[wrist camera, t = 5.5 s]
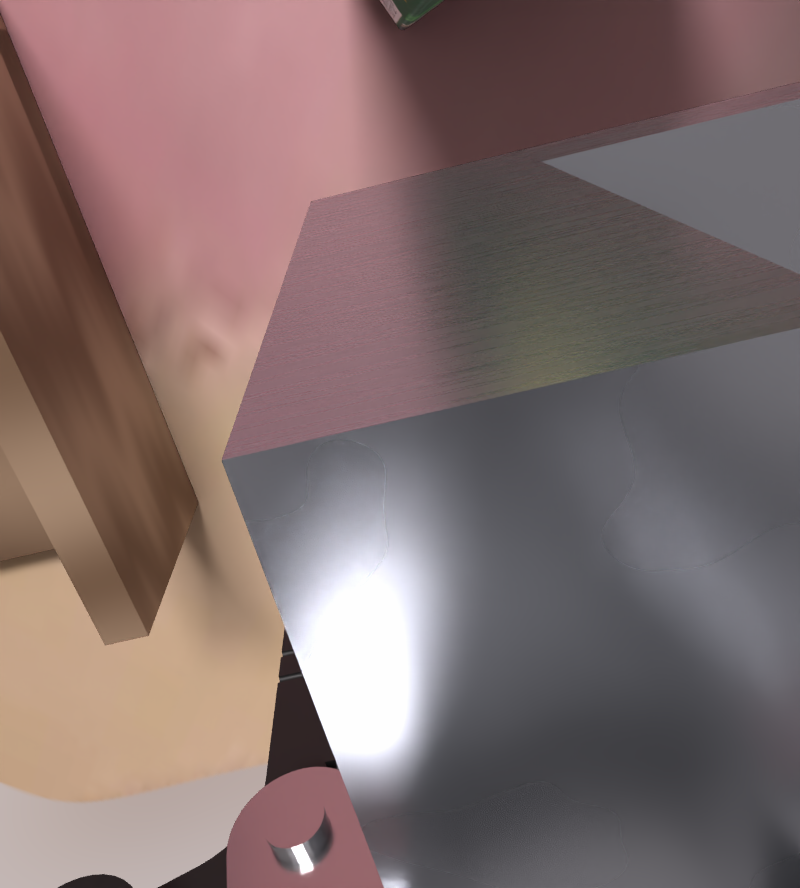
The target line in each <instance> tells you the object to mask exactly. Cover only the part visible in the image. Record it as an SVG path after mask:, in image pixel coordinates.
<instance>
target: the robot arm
mask: <svg viewBox="0 0 800 888" xmlns="http://www.w3.org/2000/svg"><path fill="white" fill-rule="evenodd" d="M282 654H283V657H281V662H280V670H279V680H280V683H278V687H277V695H276V703H275V711H274V719H273V727H272V735H271V743H270V751H269V759H268V768H267V776H266V782H265V787H264V788H262V789H261V790H260V791H259V792H258V793H257V794H256V795H255V796H254V797H253V798H252V799H251V800H250V801H249V802H248V803H247V804H246V806H245V807H244V808H243V810H242V811H241V813H240V815H239V816H238V818H237V820H236V821H235V823H234V826H233V828H232V831H231V833H230V837H229V841H228V845H227V847H226V848H225V849H223V850H222V851H221V852H219V853H218V854H217V855H215V856H214V857H213V858H211V859H210V860H208V861H206V862H205V863H203V864H201V865H200V866H198V867H196V868H194V869H192V870H190V871H189V872H187V873H185V874H183V875H181V876H179V877H177V878H175V879H173V880H172V881H170V882H168V883H166V884H164V885H162V886H160V887H158V888H384V886H383V884H382V881H381V878H380V876H379V873H378V871H377V868H376V865H375V863H374V860H373V857H372V855H371V852H370V850H369V847H368V844H367V842H366V839H365V836H364V834H363V831H362V828H361V826H360V823H359V821H358V818H357V815H356V813H355V810H354V807H353V805H352V802H351V800H350V797H349V794H348V792H347V789H346V786H345V784H344V781H343V778H342V776H341V773H340V771H339V768H338V765H337V763H336V760H335V757H334V755H333V752H332V750H331V747H330V744H329V742H328V739H327V736H326V734H325V731H324V728H323V726H322V723H321V721H320V718H319V715H318V713H317V710H316V707H315V705H314V702H313V700H312V697H311V694H310V692H309V689H308V686H307V684H306V681H305V678H304V676H303V673H302V671H301V668H300V665H299V663H298V660H297V657H296V655H295V652H294V650H293V647H292V644H291V642H290V639H289V636H288V634H287V631H286V628H285V630H284V638H283V646H282ZM58 888H132V886H131V885H130V884H128V883H127V882H126V881H125V880H123V879H121V878H118V877H116V876H112V875H105V874H102V875H90V876H86V877H81V878H78V879H76V880H73V881H71V882H68V883H66V884H64V885H62V886H60V887H58Z"/></svg>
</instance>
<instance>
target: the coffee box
mask: <svg viewBox="0 0 800 888" xmlns="http://www.w3.org/2000/svg"><path fill="white" fill-rule="evenodd" d="M443 1H445V0H380V2H381V3H382V5H383V6H384V7H385V9H386V10H387V12H388V13H389V15H390V16H391V18H392V19H393V21H394V22H395V24H396V25H397V26H398V28H399V29H400V30H405V29H406V28H408V27H409V26H411V25H412V24H413V23H415V22H417V21H418V20H420V19H421V18H422V17H423V16H425V15H426V14H427V13H428V12H430V11H431V10H432V9H434V8H435V7H437V6H438V5H439V4H441V3H442V2H443Z"/></svg>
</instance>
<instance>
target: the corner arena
mask: <svg viewBox="0 0 800 888" xmlns="http://www.w3.org/2000/svg"><path fill="white" fill-rule="evenodd" d="M197 504H198V501H197V498H196V496H195V493H194V491H193V488H192V486H191V483H190V481H189V478H188V476H187V473H186V471H185V468H184V466H183V464H182V461H181V459H180V456H179V454H178V451H177V449H176V446H175V444H174V441H173V439H172V436H171V434H170V431H169V429H168V427H167V424H166V422H165V419H164V417H163V414H162V412H161V409H160V407H159V404H158V402H157V399H156V397H155V394H154V392H153V390H152V387H151V385H150V382H149V380H148V377H147V375H146V372H145V370H144V367H143V365H142V362H141V360H140V357H139V355H138V353H137V350H136V348H135V345H134V343H133V340H132V338H131V335H130V333H129V330H128V328H127V325H126V323H125V320H124V318H123V316H122V313H121V311H120V308H119V306H118V303H117V301H116V298H115V296H114V293H113V291H112V288H111V286H110V283H109V281H108V278H107V276H106V274H105V271H104V269H103V266H102V264H101V261H100V259H99V256H98V254H97V251H96V249H95V246H94V244H93V241H92V239H91V237H90V234H89V232H88V229H87V227H86V224H85V222H84V219H83V217H82V214H81V212H80V209H79V207H78V204H77V202H76V200H75V197H74V195H73V192H72V190H71V187H70V185H69V182H68V180H67V177H66V175H65V172H64V170H63V167H62V165H61V163H60V160H59V158H58V155H57V153H56V150H55V148H54V145H53V143H52V140H51V138H50V135H49V133H48V130H47V128H46V126H45V123H44V121H43V118H42V116H41V113H40V111H39V108H38V106H37V103H36V101H35V98H34V96H33V93H32V91H31V89H30V86H29V84H28V81H27V79H26V76H25V74H24V71H23V69H22V66H21V64H20V61H19V59H18V56H17V54H16V52H15V49H14V47H13V44H12V42H11V39H10V37H9V34H8V32H7V29H6V27H5V24H4V22H3V19H2V17H1V15H0V561H4V560H8V559H12V558H17V557H21V556H26V555H30V554H34V553H39V552H43V551H47V550H52V549H55V550H56V552H57V554H58V556H59V558H60V560H61V562H62V564H63V566H64V568H65V570H66V572H67V573H68V575H69V577H70V579H71V581H72V583H73V585H74V587H75V589H76V591H77V593H78V594H79V596H80V598H81V600H82V602H83V604H84V606H85V608H86V610H87V612H88V614H89V615H90V617H91V619H92V621H93V623H94V625H95V627H96V629H97V631H98V633H99V635H100V636H101V638H102V640H103V642H104V644H105V645H109V644H113V643H118V642H123V641H127V640H132V639H136V638H141V637H145V636H149V633H150V630H151V628H152V625H153V622H154V620H155V617H156V614H157V612H158V609H159V606H160V604H161V601H162V598H163V595H164V593H165V590H166V587H167V585H168V582H169V579H170V577H171V574H172V571H173V569H174V566H175V563H176V561H177V558H178V555H179V553H180V550H181V547H182V545H183V542H184V539H185V537H186V534H187V531H188V529H189V526H190V523H191V520H192V518H193V515H194V512H195V510H196V507H197Z"/></svg>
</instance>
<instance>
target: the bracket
mask: <svg viewBox="0 0 800 888" xmlns="http://www.w3.org/2000/svg"><path fill="white" fill-rule="evenodd" d="M222 463H223V465H224V468H225V471H226V473H227V476H228V478H229V481H230V484H231V486H232V489H233V492H234V494H235V497H236V499H237V502H238V505H239V507H240V510H241V513H242V515H243V518H244V521H245V523H246V526H247V528H248V531H249V534H250V536H251V539H252V542H253V544H254V547H255V549H256V552H257V555H258V557H259V560H260V563H261V565H262V568H263V571H264V573H265V576H266V578H267V581H268V584H269V586H270V589H271V592H272V594H273V597H274V600H275V602H276V605H277V607H278V610H279V613H280V615H281V618H282V621H283V623H284V626H285V628H286V631H287V634H288V636H289V639H290V642H291V644H292V647H293V650H294V652H295V655H296V657H297V660H298V663H299V665H300V668H301V671H302V673H303V676H304V678H305V681H306V684H307V686H308V689H309V692H310V694H311V697H312V700H313V702H314V705H315V707H316V710H317V713H318V715H319V718H320V721H321V723H322V726H323V728H324V731H325V734H326V736H327V739H328V742H329V744H330V747H331V750H332V752H333V755H334V757H335V760H336V763H337V765H338V768H339V771H340V773H341V776H342V778H343V781H344V784H345V786H346V789H347V792H348V794H349V797H350V800H351V802H352V805H353V807H354V810H355V813H356V815H357V818H358V821H359V823H360V826H361V828H362V831H363V834H364V836H365V839H366V842H367V844H368V847H369V850H370V852H371V855H372V857H373V860H374V863H375V865H376V868H377V871H378V873H379V876H380V878H381V881H382V884H383V886H384V888H800V82H797V83H793V84H789V85H785V86H780V87H776V88H772V89H768V90H764V91H760V92H756V93H752V94H748V95H744V96H740V97H736V98H731V99H727V100H723V101H719V102H715V103H711V104H707V105H703V106H699V107H695V108H691V109H687V110H682V111H678V112H674V113H670V114H666V115H662V116H658V117H654V118H650V119H646V120H642V121H638V122H633V123H629V124H625V125H621V126H617V127H613V128H609V129H605V130H601V131H597V132H593V133H589V134H584V135H580V136H576V137H572V138H568V139H564V140H560V141H556V142H552V143H548V144H544V145H540V146H535V147H531V148H527V149H523V150H519V151H515V152H511V153H507V154H503V155H499V156H495V157H491V158H486V159H482V160H478V161H474V162H470V163H466V164H462V165H458V166H454V167H450V168H446V169H442V170H437V171H433V172H429V173H425V174H421V175H417V176H413V177H409V178H405V179H401V180H397V181H393V182H388V183H384V184H380V185H376V186H372V187H368V188H364V189H360V190H356V191H352V192H348V193H344V194H339V195H335V196H331V197H327V198H323V199H319V200H315V201H311V203H310V206H309V209H308V212H307V215H306V218H305V220H304V223H303V226H302V229H301V232H300V235H299V238H298V241H297V244H296V246H295V249H294V252H293V255H292V258H291V261H290V264H289V267H288V270H287V272H286V275H285V278H284V281H283V284H282V287H281V290H280V293H279V296H278V299H277V301H276V304H275V307H274V310H273V313H272V316H271V319H270V322H269V325H268V327H267V330H266V333H265V336H264V339H263V342H262V345H261V348H260V351H259V353H258V356H257V359H256V362H255V365H254V368H253V371H252V374H251V377H250V380H249V382H248V385H247V388H246V391H245V394H244V397H243V400H242V403H241V406H240V408H239V411H238V414H237V417H236V420H235V423H234V426H233V429H232V432H231V434H230V437H229V440H228V443H227V446H226V449H225V452H224V455H223V458H222Z"/></svg>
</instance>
